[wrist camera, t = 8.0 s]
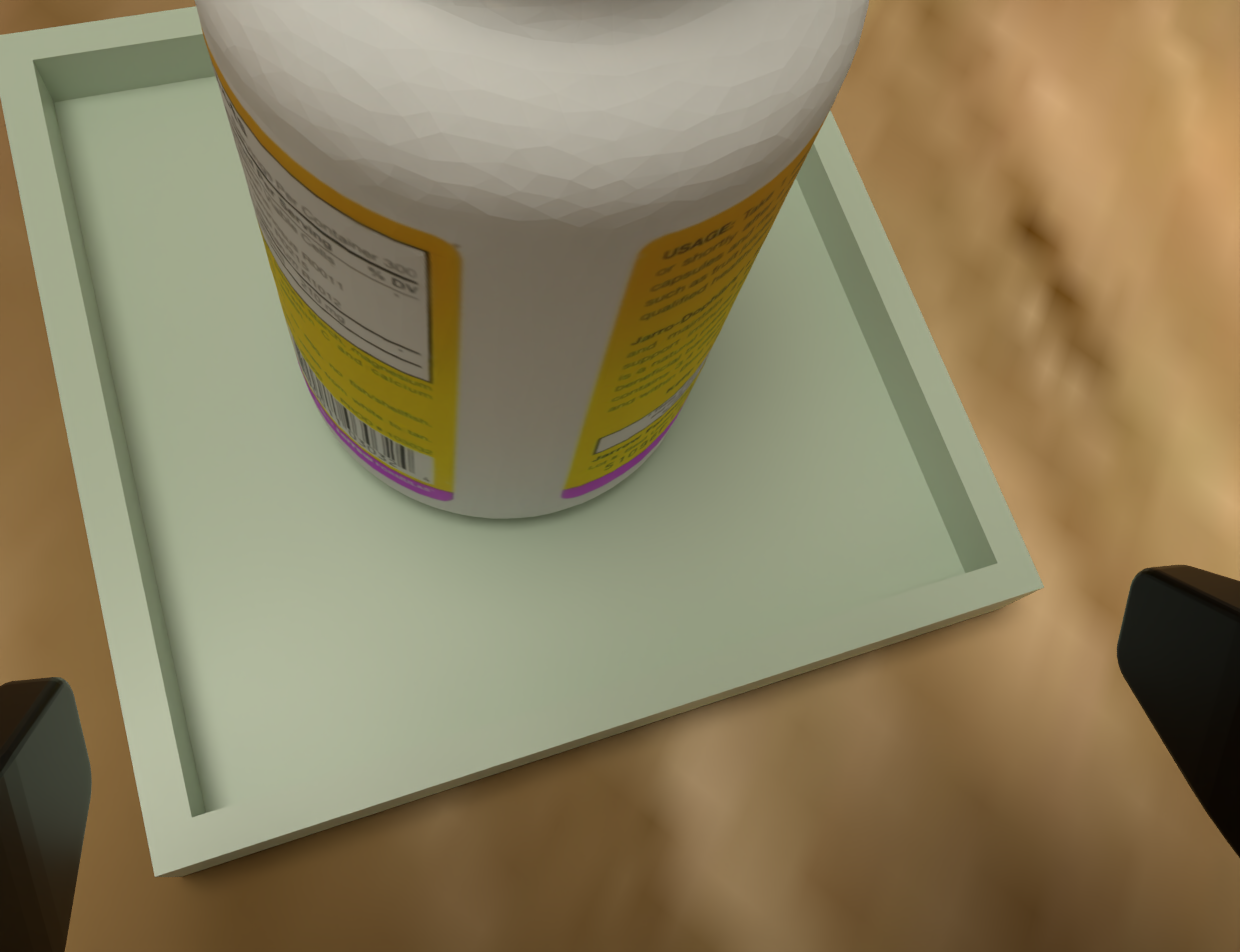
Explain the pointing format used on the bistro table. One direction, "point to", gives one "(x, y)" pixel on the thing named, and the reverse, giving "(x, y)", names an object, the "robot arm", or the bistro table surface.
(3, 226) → the bistro table surface
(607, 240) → the supplement bottle
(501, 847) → the bistro table surface
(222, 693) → the tray
